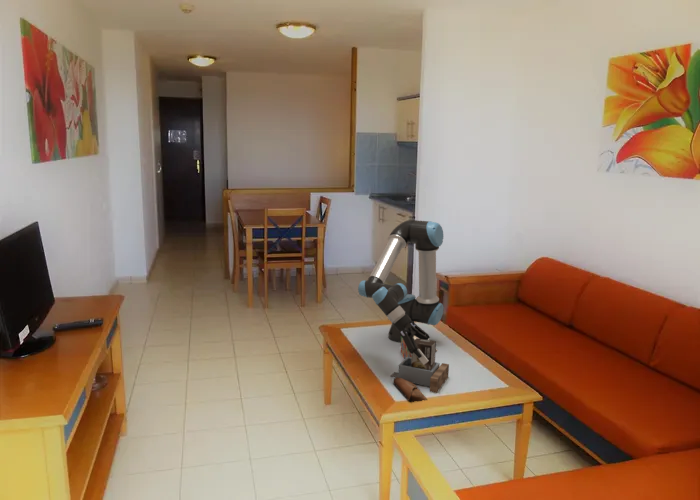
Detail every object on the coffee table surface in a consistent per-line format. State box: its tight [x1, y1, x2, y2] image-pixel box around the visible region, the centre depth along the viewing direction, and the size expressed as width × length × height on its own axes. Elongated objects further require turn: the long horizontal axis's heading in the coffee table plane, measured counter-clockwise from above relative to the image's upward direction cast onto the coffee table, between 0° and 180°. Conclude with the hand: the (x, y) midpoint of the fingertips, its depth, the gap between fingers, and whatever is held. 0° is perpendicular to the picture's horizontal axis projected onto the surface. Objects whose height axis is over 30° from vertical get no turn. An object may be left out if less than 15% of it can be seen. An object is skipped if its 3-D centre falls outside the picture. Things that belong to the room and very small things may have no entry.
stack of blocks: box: [400, 336, 419, 360], centre depth 259 cm, size 21×6×12 cm, turn 5°
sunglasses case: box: [392, 377, 427, 403], centre depth 225 cm, size 18×7×7 cm
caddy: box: [397, 357, 441, 388], centre depth 236 cm, size 11×15×7 cm
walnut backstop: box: [429, 362, 450, 394], centre depth 233 cm, size 18×3×6 cm, turn 155°
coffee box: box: [411, 338, 437, 371], centre depth 234 cm, size 9×6×16 cm
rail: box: [390, 371, 398, 378], centre depth 238 cm, size 5×20×1 cm, turn 65°
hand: (431, 357), depth 233 cm, fingers open, 13 cm apart
